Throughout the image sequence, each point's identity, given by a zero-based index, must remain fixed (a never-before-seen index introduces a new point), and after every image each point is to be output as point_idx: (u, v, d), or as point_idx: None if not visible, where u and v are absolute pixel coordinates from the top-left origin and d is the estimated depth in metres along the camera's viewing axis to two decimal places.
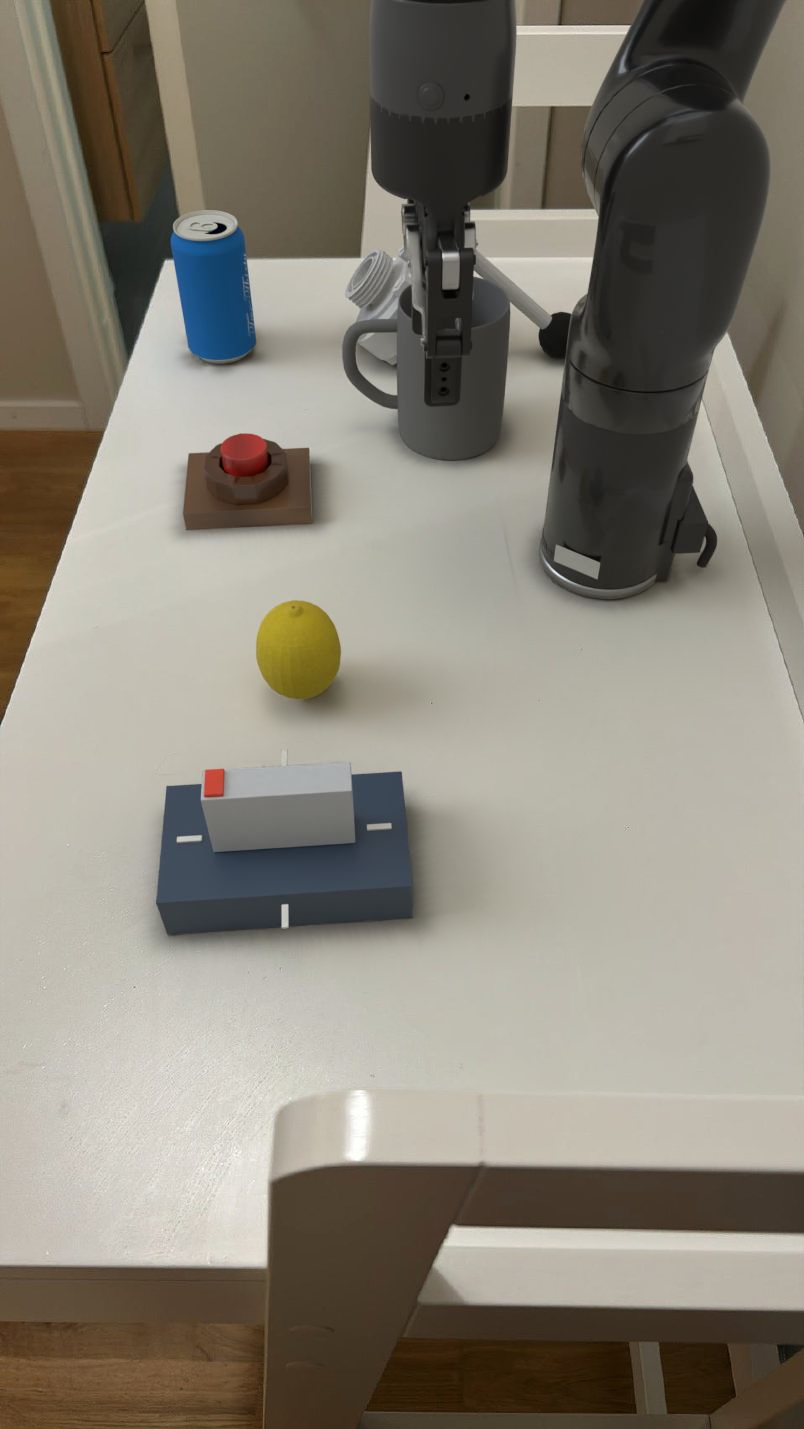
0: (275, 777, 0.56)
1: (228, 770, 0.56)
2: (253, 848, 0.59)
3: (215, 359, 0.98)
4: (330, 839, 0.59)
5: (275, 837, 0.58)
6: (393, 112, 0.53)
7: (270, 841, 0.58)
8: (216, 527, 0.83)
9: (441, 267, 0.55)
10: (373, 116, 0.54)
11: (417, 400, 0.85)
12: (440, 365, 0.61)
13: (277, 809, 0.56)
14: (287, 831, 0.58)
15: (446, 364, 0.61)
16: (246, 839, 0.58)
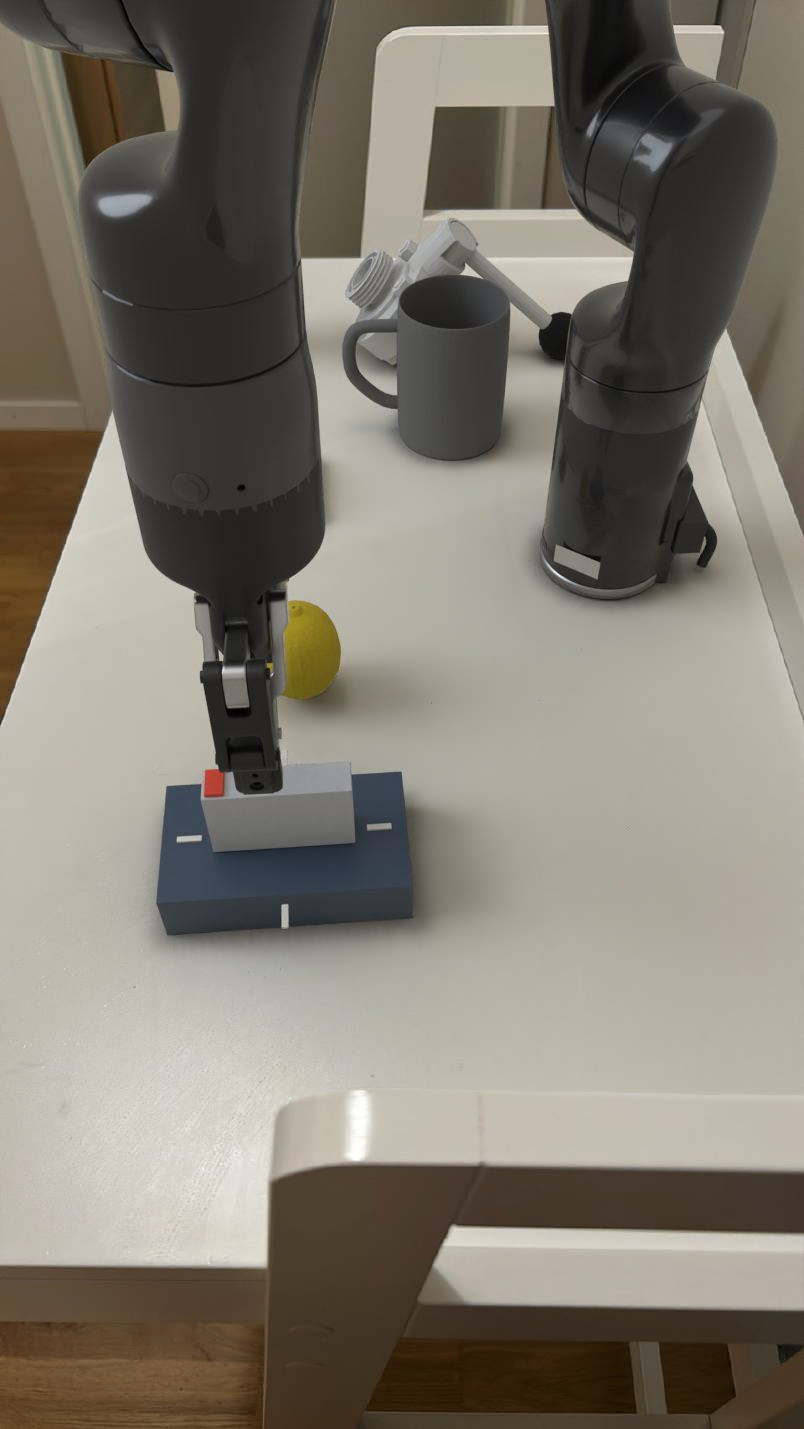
0: None
1: None
2: (253, 848, 0.59)
3: None
4: (330, 839, 0.59)
5: (275, 837, 0.58)
6: (147, 495, 0.38)
7: (270, 841, 0.58)
8: None
9: (221, 688, 0.40)
10: None
11: (417, 400, 0.85)
12: None
13: (277, 809, 0.56)
14: (287, 831, 0.58)
15: None
16: (246, 839, 0.58)
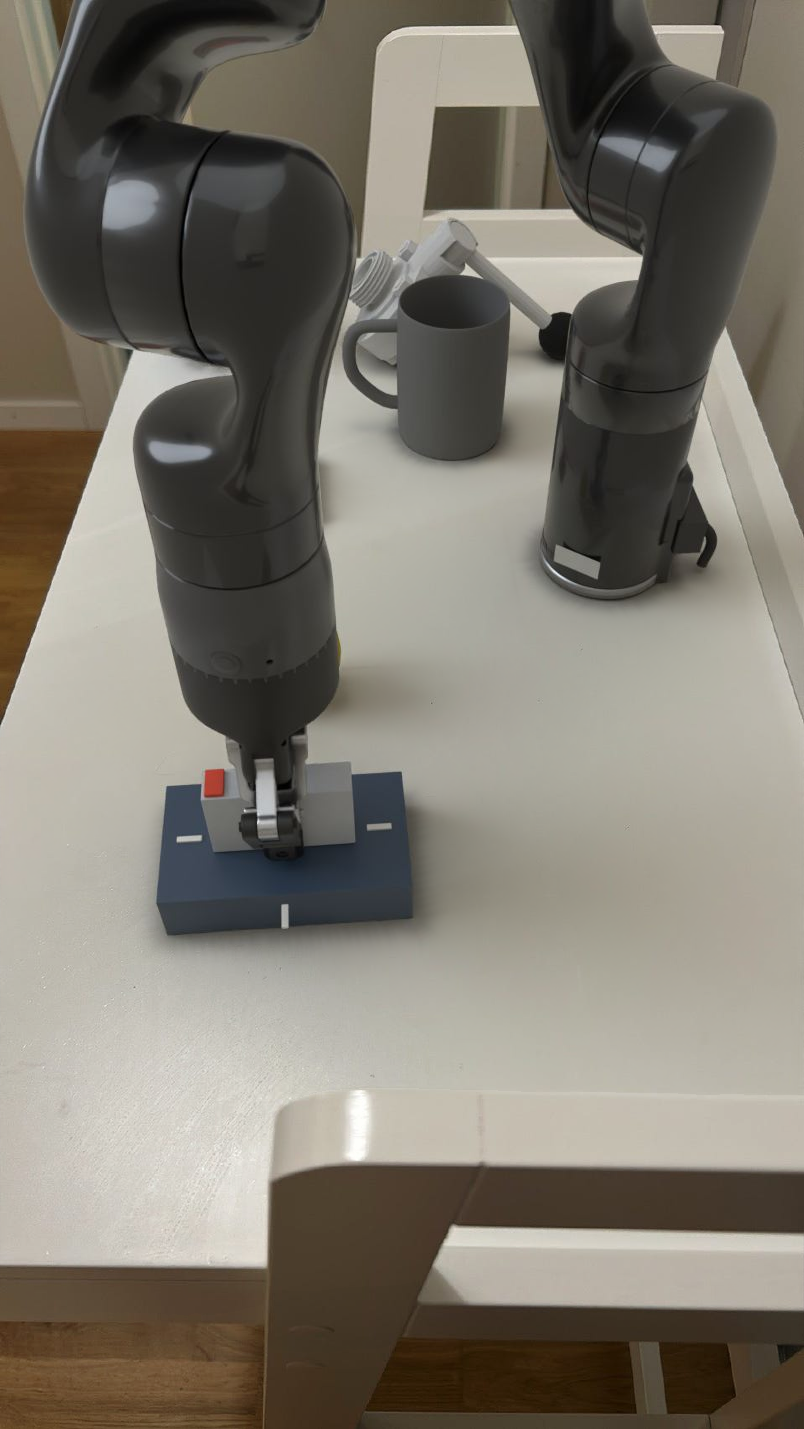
0: None
1: (228, 770, 0.56)
2: None
3: None
4: (330, 839, 0.59)
5: None
6: (188, 664, 0.45)
7: None
8: None
9: (257, 838, 0.49)
10: None
11: (417, 400, 0.85)
12: None
13: None
14: None
15: None
16: None
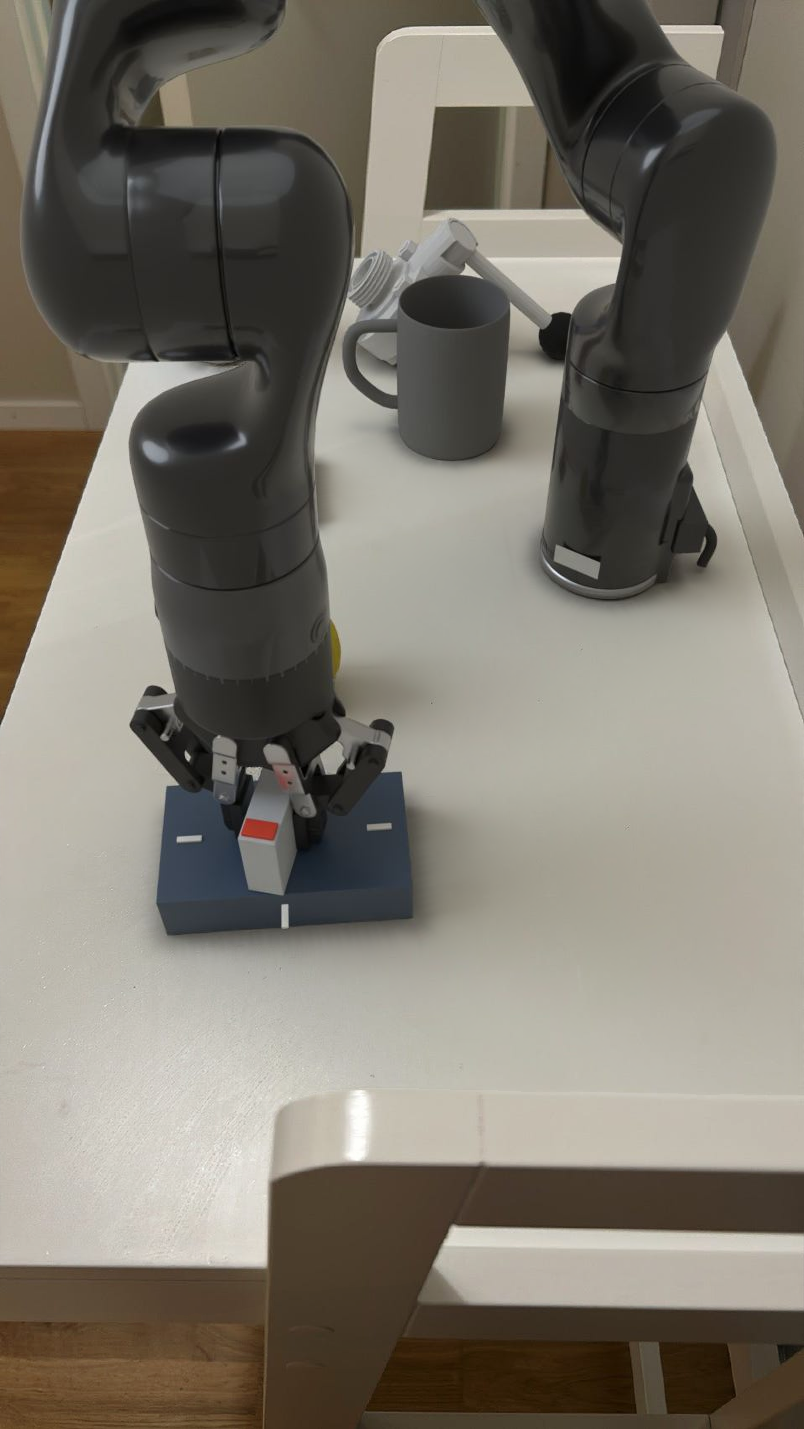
0: (273, 780, 0.56)
1: (247, 817, 0.54)
2: (292, 861, 0.58)
3: None
4: None
5: None
6: (287, 670, 0.45)
7: None
8: None
9: None
10: (246, 692, 0.45)
11: (417, 400, 0.85)
12: None
13: None
14: None
15: None
16: (291, 855, 0.57)
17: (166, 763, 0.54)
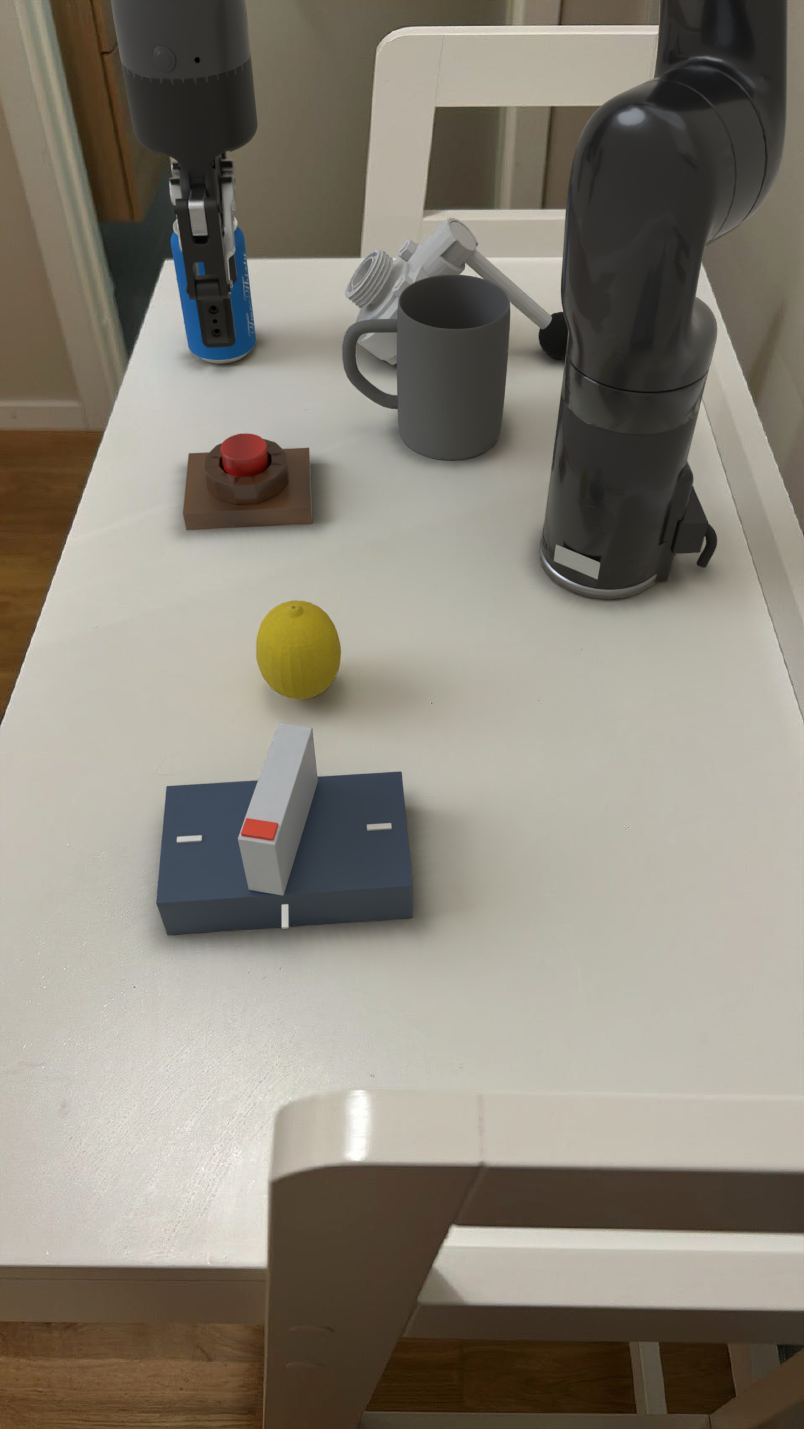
0: (273, 780, 0.56)
1: (247, 817, 0.54)
2: (292, 861, 0.58)
3: (215, 359, 0.98)
4: (312, 794, 0.61)
5: (298, 831, 0.58)
6: (136, 74, 0.59)
7: (297, 839, 0.58)
8: (216, 527, 0.83)
9: (188, 215, 0.61)
10: (124, 78, 0.61)
11: (417, 400, 0.85)
12: (210, 308, 0.67)
13: (296, 797, 0.57)
14: (300, 815, 0.58)
15: (216, 307, 0.67)
16: (291, 855, 0.57)
17: None
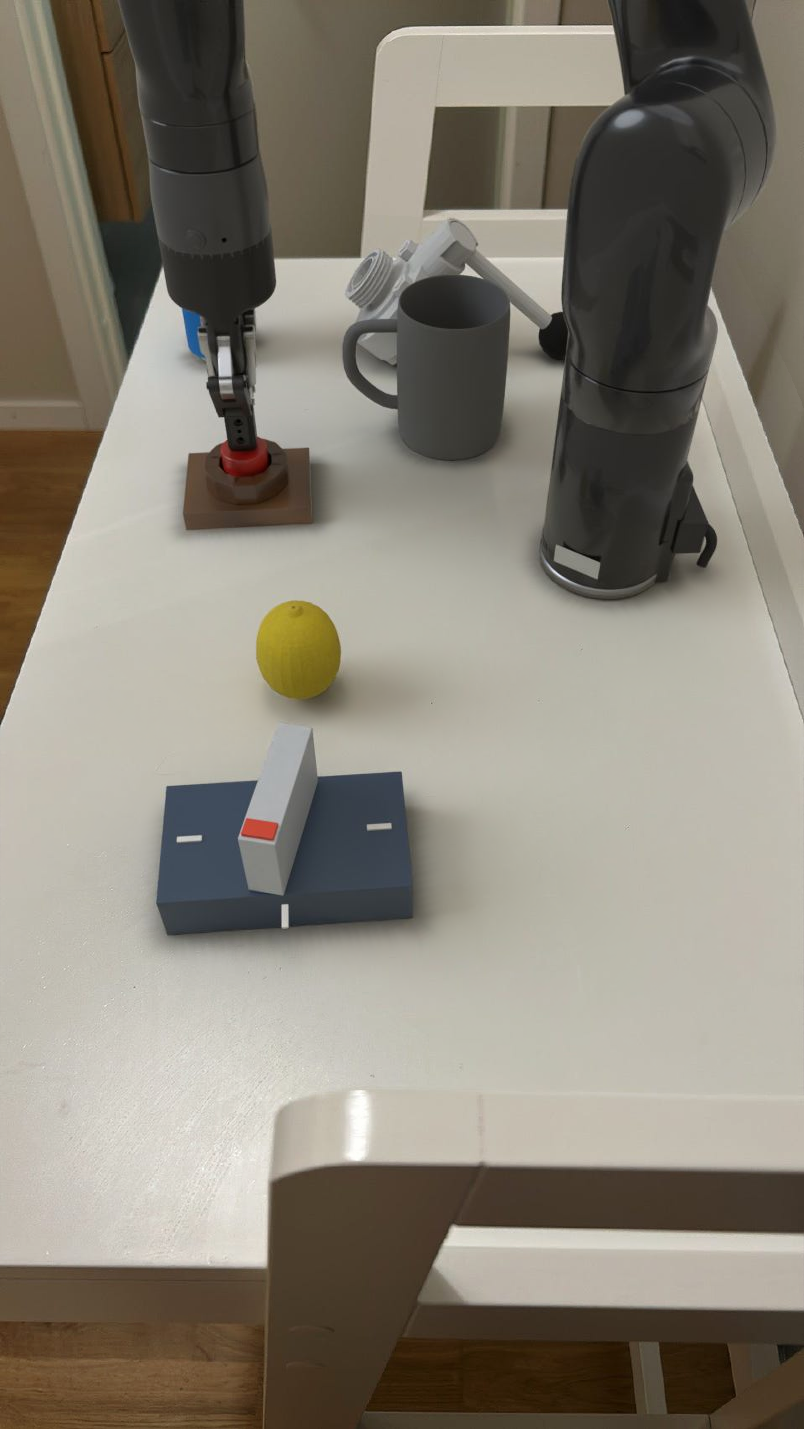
0: (273, 780, 0.56)
1: (247, 817, 0.54)
2: (292, 861, 0.58)
3: None
4: (312, 794, 0.61)
5: (298, 831, 0.58)
6: (170, 248, 0.68)
7: (297, 839, 0.58)
8: (216, 527, 0.83)
9: (219, 394, 0.72)
10: (160, 248, 0.69)
11: (417, 400, 0.85)
12: (235, 421, 0.79)
13: (296, 797, 0.57)
14: (300, 815, 0.58)
15: (240, 420, 0.79)
16: (291, 855, 0.57)
17: None
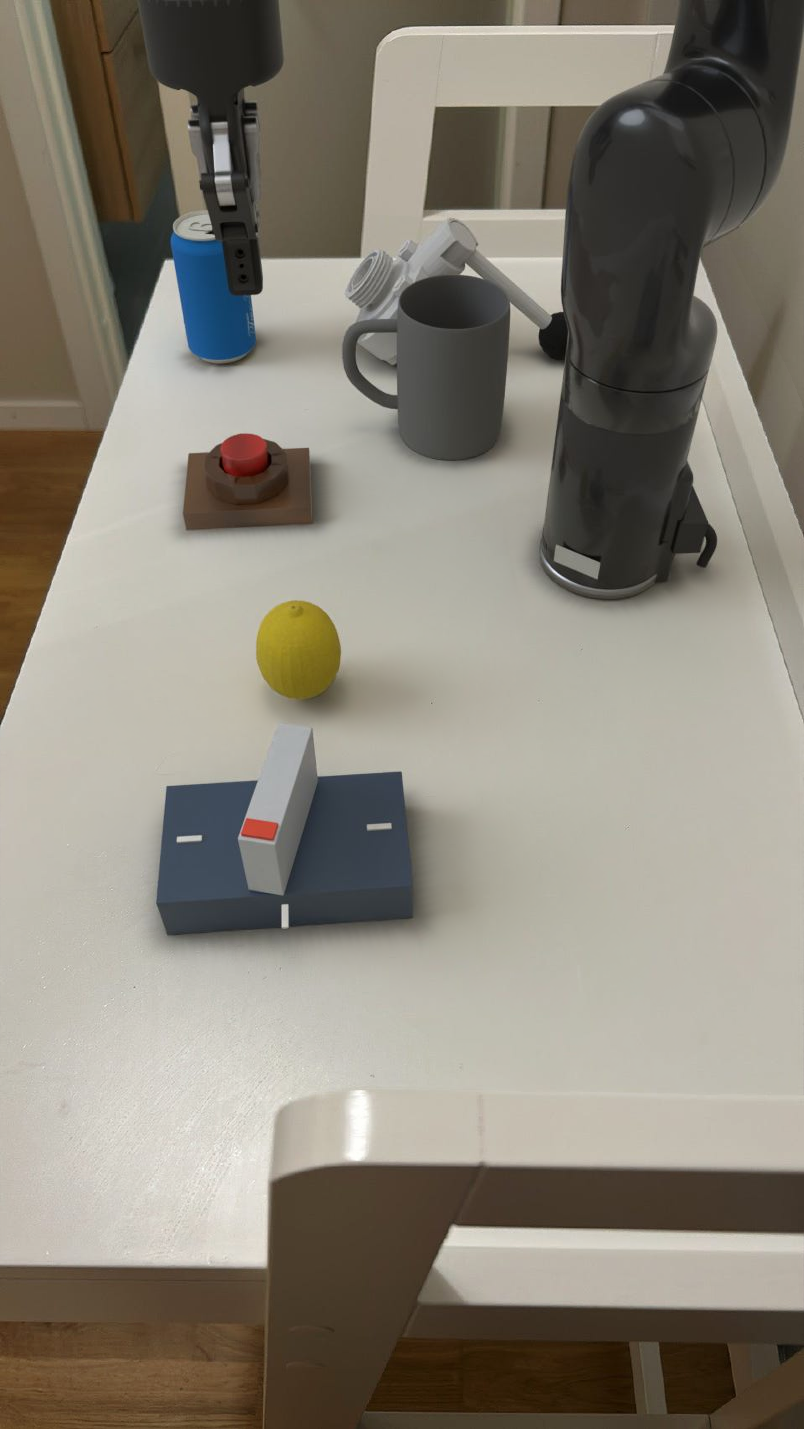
0: (273, 780, 0.56)
1: (247, 817, 0.54)
2: (292, 861, 0.58)
3: (215, 359, 0.98)
4: (312, 794, 0.61)
5: (298, 831, 0.58)
6: None
7: (297, 839, 0.58)
8: (216, 527, 0.83)
9: (216, 195, 0.58)
10: (138, 6, 0.55)
11: (417, 400, 0.85)
12: (236, 252, 0.65)
13: (296, 797, 0.57)
14: (300, 815, 0.58)
15: (242, 251, 0.65)
16: (291, 855, 0.57)
17: None
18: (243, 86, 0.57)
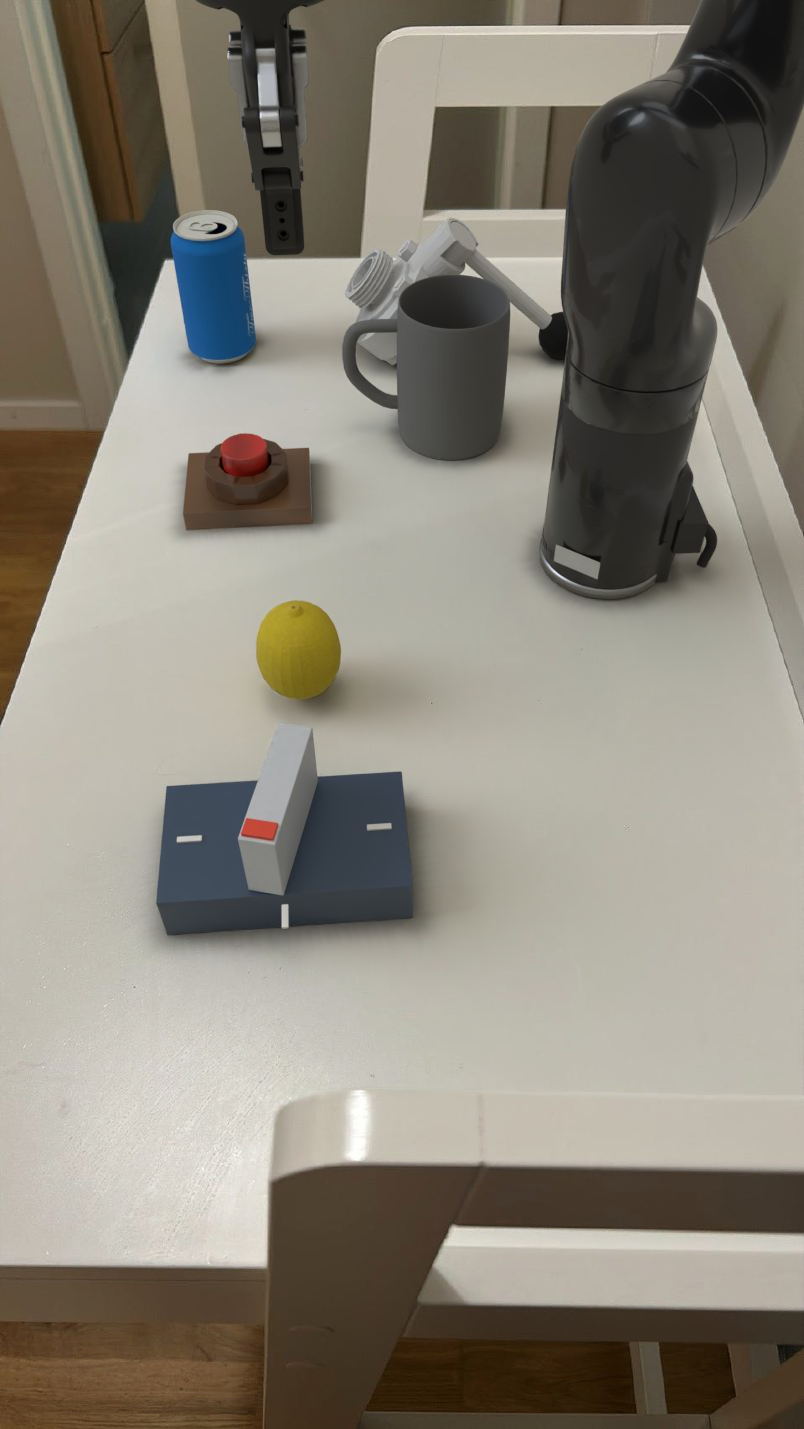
0: (273, 780, 0.56)
1: (247, 817, 0.54)
2: (292, 861, 0.58)
3: (215, 359, 0.98)
4: (312, 794, 0.61)
5: (298, 831, 0.58)
6: None
7: (297, 839, 0.58)
8: (216, 527, 0.83)
9: (260, 134, 0.50)
10: None
11: (417, 400, 0.85)
12: (276, 204, 0.57)
13: (296, 797, 0.57)
14: (300, 815, 0.58)
15: (283, 204, 0.58)
16: (291, 855, 0.57)
17: None
18: (295, 6, 0.49)
